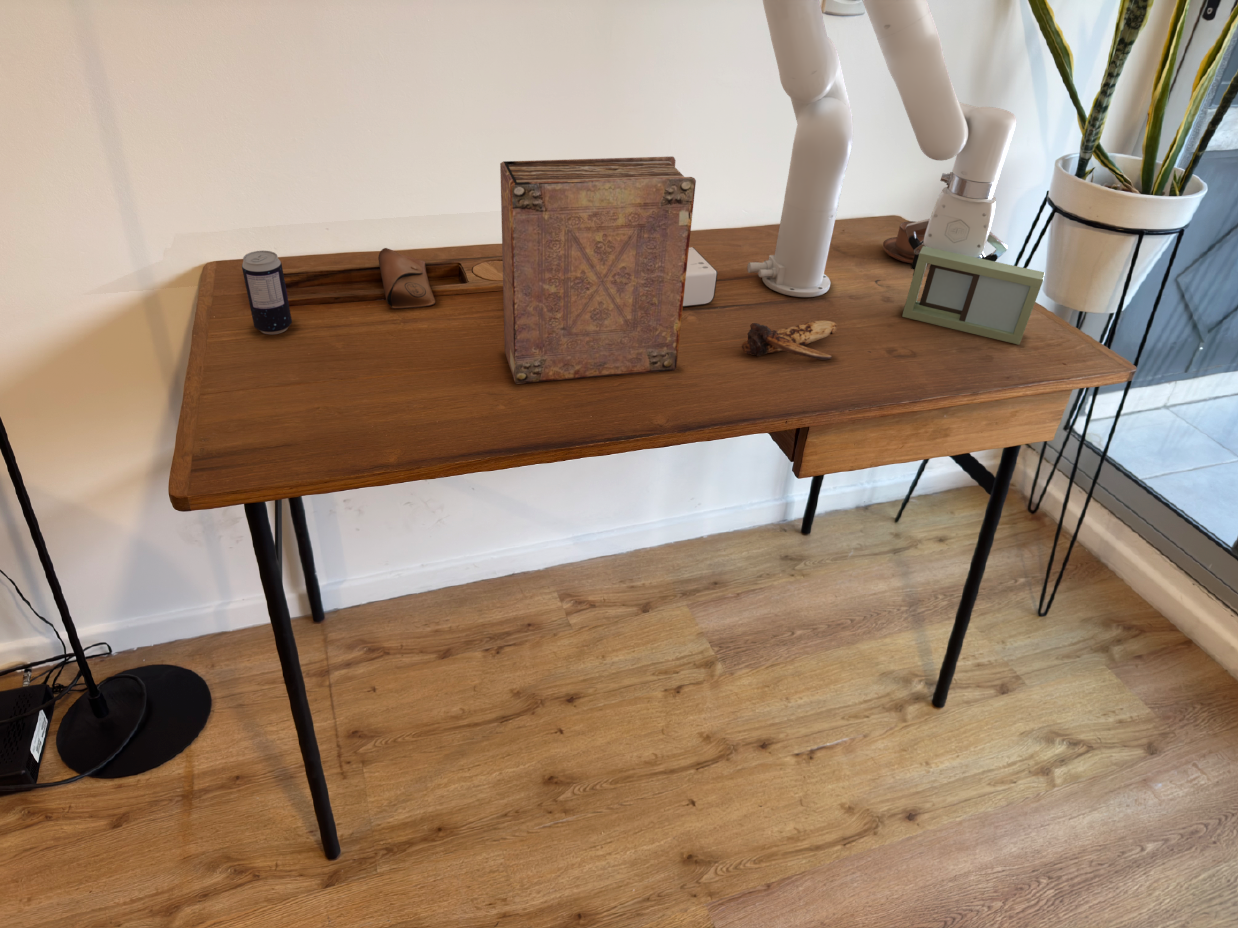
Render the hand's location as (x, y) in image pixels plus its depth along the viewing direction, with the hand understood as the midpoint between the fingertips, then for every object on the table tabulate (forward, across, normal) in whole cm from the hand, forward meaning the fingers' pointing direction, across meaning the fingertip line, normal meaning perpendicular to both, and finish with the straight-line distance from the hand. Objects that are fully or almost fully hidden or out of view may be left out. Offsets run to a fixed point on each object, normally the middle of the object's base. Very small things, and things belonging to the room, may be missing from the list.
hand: (942, 279), depth 159 cm
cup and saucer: (+5, -8, +20) cm, 22 cm away
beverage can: (+6, -93, -68) cm, 116 cm away
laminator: (+6, -52, -30) cm, 60 cm away
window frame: (+5, +6, -7) cm, 10 cm away
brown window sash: (+3, +2, -3) cm, 5 cm away
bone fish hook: (+5, -18, -32) cm, 37 cm away
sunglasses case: (+6, -85, -44) cm, 96 cm away
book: (+6, -45, -52) cm, 69 cm away
